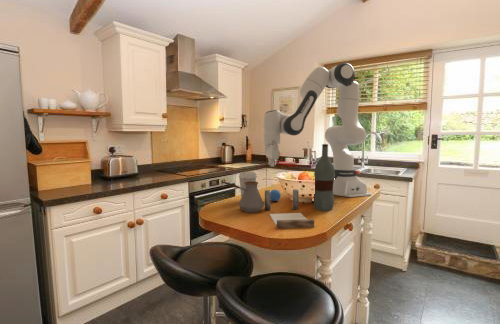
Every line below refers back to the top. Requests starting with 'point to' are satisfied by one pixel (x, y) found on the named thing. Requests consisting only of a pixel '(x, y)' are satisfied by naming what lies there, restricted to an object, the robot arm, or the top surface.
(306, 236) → the top surface
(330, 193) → the bottle
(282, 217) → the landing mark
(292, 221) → the wall
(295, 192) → the right post
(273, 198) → the ball
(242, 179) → the coffee cup
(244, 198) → the coffee pot
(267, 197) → the left post
